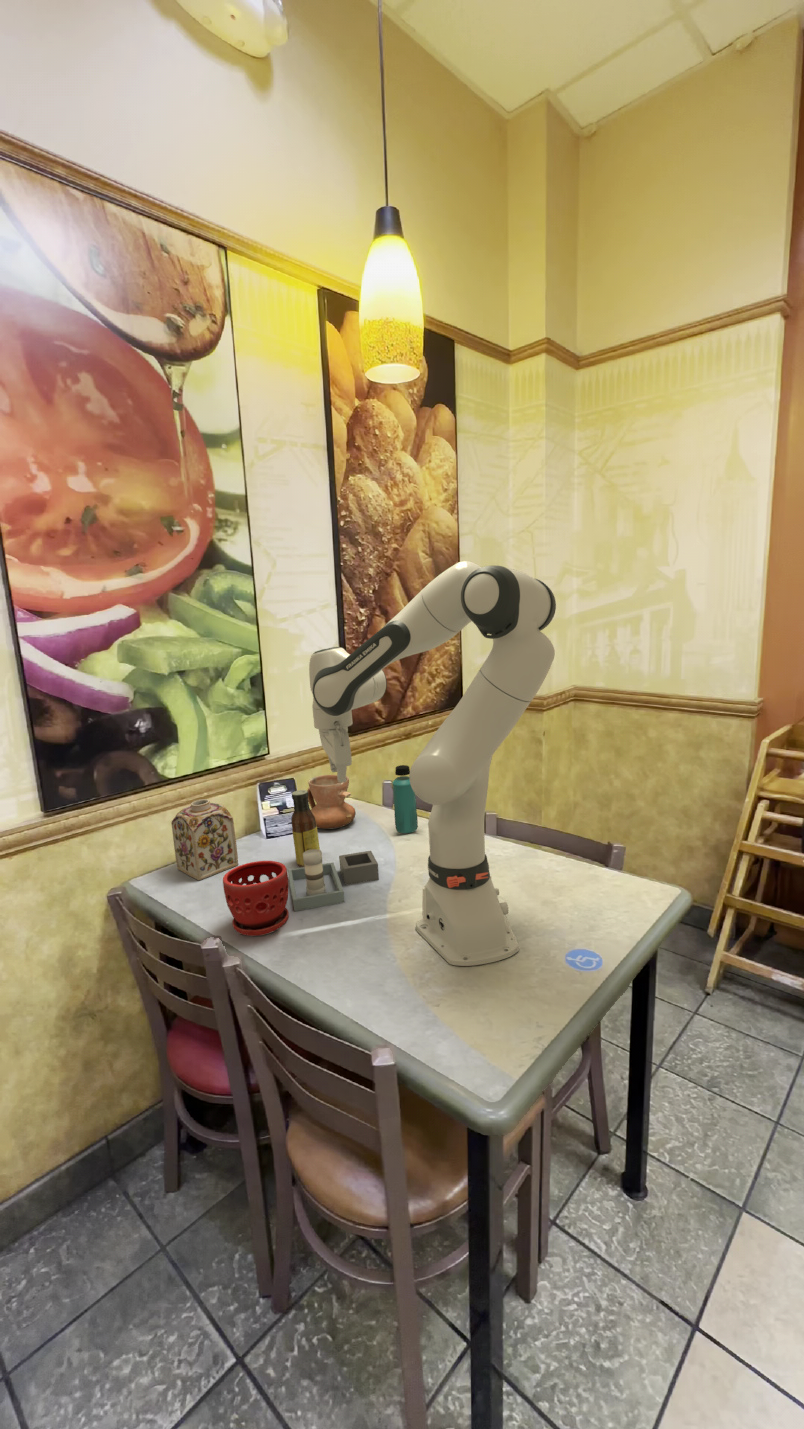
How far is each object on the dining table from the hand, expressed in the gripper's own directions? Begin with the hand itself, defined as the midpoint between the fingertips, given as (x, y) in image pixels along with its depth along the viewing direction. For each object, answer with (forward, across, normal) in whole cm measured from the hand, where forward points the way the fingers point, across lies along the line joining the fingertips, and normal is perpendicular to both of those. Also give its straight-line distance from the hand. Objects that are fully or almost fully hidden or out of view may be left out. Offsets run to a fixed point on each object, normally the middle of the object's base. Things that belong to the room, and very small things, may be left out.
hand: (338, 776), depth 142 cm
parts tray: (+26, -4, +8) cm, 27 cm away
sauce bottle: (+26, +12, +8) cm, 29 cm away
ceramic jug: (+26, +39, -2) cm, 47 cm away
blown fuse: (+25, -6, +8) cm, 27 cm away
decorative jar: (+26, +21, +33) cm, 47 cm away
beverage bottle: (+26, +22, -21) cm, 40 cm away
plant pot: (+26, -13, +21) cm, 36 cm away
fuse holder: (+26, -1, -3) cm, 26 cm away
